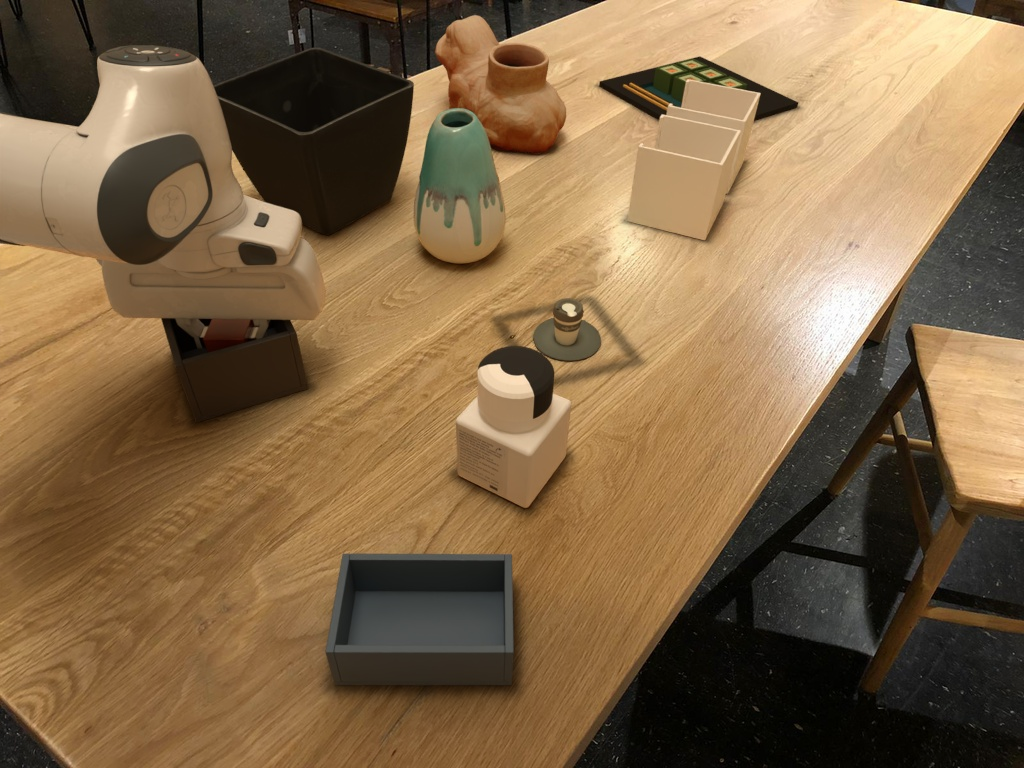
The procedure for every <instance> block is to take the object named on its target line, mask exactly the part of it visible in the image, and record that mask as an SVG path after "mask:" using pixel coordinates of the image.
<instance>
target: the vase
mask: <svg viewBox="0 0 1024 768" xmlns="http://www.w3.org/2000/svg"><path fill="white" fill-rule="evenodd" d="M418 180H419V181H418V184H417V187H416V190H415V196H414V201H413V202H414V205H413V226H414V231H415V234H416V237H417V238H418V240H419V242H420V244H421V245H422V247H423V248H424V249H425V250H426V252H428V253H429V254H430V255H431V256H433V257H435V258H436V259H438V260H440V261H443V262H446V263H449V264H450V263H451V264H461V265H462V264H469V263H475V262H478V261H480V260H483V259H484V258H486V257H487V256H489V255H490V254H491V253H493V251H494V250H495V249H496V248H497V247H498V245H499V244H500V242H501V241H502V238H503V235H504V233H505V228H506V221H507V218H506V217H507V216H506V206H505V201H504V196H503V192H502V185H501V183H500V178H499V175H498V171H497V168H496V165H495V160H494V155H493V152H492V148H491V146H490V142H489V139H488V136H487V133H486V131H485V129H484V127H483V125H482V123H481V122H480V120H479V119H478V118H477V116H476V115H475V114H474V113H473V112H471V111H469V110H467V109H462V108H453V109H449V108H448V109H446V110H444V111H441V112H439V114H438V115H437V116H436V117H435V118H434V120H433V122H432V123H431V125H430V127H429V130H428V133H427V136H426V142H425V147H424V154H423V158H422V164H421V168H420V173H419V177H418Z"/></svg>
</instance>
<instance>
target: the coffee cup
mask: <svg viewBox="0 0 1024 768" xmlns="http://www.w3.org/2000/svg"><path fill="white" fill-rule="evenodd" d="M584 313H585V311H584V306H583V304H582V303H581V302H580V301H579V300H577V299H574V298H572V297H571V298H570V297H566V298H561V299H558V300H557V301H555V303H554V305H553V309H552V315H553V317H551V318H549V319H546V320H544V321H542V322H541V323H540V324H538V325H537V326H536V328H535V329H534V331H533V334H532V338H533V339H532V340H533V343H534V345H535V346H536V348H537V349H538V351H539V352H540V353H541V354H543V355H544V356H545V357H547V358H551V359H554V360H558V361H564V362H574V361H581V360H585V359H587V358H590V357H591V356H593V355H594V354H596V353H597V352H598V350H599V349H600V347H601V343H602V337H601V334H600V332H599V331H598V329H597V328H596V327H595V326H594V325H593V324H591V323H589V322H588V321H586V320H584V319H583V316H584Z"/></svg>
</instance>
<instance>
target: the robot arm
mask: <svg viewBox="0 0 1024 768" xmlns="http://www.w3.org/2000/svg"><path fill="white" fill-rule="evenodd" d="M96 63H97V64H96V65H97V66H96V69H97V76H98V82H99V88H98V91H97V96H96V99H95V101H94V103H93V106H92V108H91V110H90V112H89V114H88V115H87V116H86V118H85V120H84V121H83V122H82V123H81V124H80V125H79V126H77V125H76V126H75V125H70V124H65V123H59V122H58V123H57V122H51V121H45V120H40V119H33V118H27V117H23V116H20V115H17V114H12V113H9V112H4V111H0V245H11V246H20V247H31V248H36V249H41V250H45V251H52V252H57V253H62V254H67V255H72V256H77V257H82V258H84V257H85V258H90V259H95V260H96V261H97V263H98V265H100V267H101V273H102V279H103V284H104V288H105V293H106V296H107V299H108V302H109V305H110V307H111V309H112V310H113V311H114V312H115V313H116V314H118V315H119V316H121V317H122V318H125V319H161V318H175V319H176V322H177V325H178V326H180V327H181V328H182V329H183V330H184V331H186V332H187V333H188V334H189V335H190V336H192V337H194V340H195V343H196V346H197V348H198V349H206V347H205V343H204V340H203V338H204V336H205V333H206V331H207V329H208V327H209V326H204V325H203V324H202V322H201V321H200V320H199V319H253V322H254V325H255V326H259V327H251V330H250V333H249V335H248V342H249V341H253V340H256V339H260V338H264V337H267V333H266V330H267V328H268V326H269V323H270V320H290V321H315V320H316V319H317V318H318V317H319V315H320V314H322V312H323V308H324V306H325V302H326V296H327V294H326V293H327V292H326V286H325V281H324V277H323V273H322V270H321V266H320V263H319V260H318V258H317V254H316V252H315V250H314V248H313V247H312V245H311V243H309V241H307V240H306V239H304V238H303V237H302V229H303V224H302V220H301V217H300V215H299V214H298V213H297V212H295V211H293V210H290V209H287V208H283V207H280V206H276V205H273V204H269V203H266V202H265V201H264V200H260V199H257V198H254V197H252V196H249V195H247V194H244V192H243V189H242V186H241V185H240V182H239V181H238V179H237V178H236V176H235V173H234V171H233V166H232V161H233V160H232V159H233V151H232V147H231V142H230V138H229V134H228V130H227V126H226V123H225V119H224V116H223V112H222V109H221V106H220V103H219V100H218V97H217V94H216V91H215V89H214V83H213V81H212V78H211V76H210V74H209V72H208V71H207V69H206V67H205V65H204V64H203V62H202V61H201V59H200V58H198V57H197V56H196V55H194V54H192V53H191V52H189V51H187V50H184V49H180V48H175V47H169V46H162V45H151V44H148V45H138V44H137V45H136V44H133V45H131V44H130V45H123V46H117V47H114V48H110V49H108V50H106V51H105V52H103V53H101V54H100V55H99V56H98V57H97V60H96Z"/></svg>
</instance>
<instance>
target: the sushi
mask: <svg viewBox="0 0 1024 768" xmlns="http://www.w3.org/2000/svg"><path fill="white" fill-rule="evenodd" d="M688 79H689V80H694V81H699V82H705V83H710V84H715V85H720V86H726V87H731V88H736V89H741V90H747V91H752V92H757V93H761V94H760V98H759V102H758V106H757V110H756V114H755V118H754V122H755V121H757V120H761V119H764V118H768V117H770V116H775V115H777V114H780V113H783V112H787V111H790V110H793V109H796V108H798V106H799V102H798V101H797V100H795V99H792V98H790V97H788V96H786V95H785V94H781V93H780V92H777V91H775V90H773V89H771V88H769V87H766V86H764V85H763V84H760V83H758V82H756V81H755V80H752V79H750V78H748V77H746V76H744V75H741V74H738V73H736V72H734V71H732V70H730V69H728V68H726V67H724V66H721V65H720V64H717V63H715V62H713V61H711V60H709V59H706V58H704V57H703V56H700V55H699V56H696V57H691V58H688V59H683V60H679V61H676V62H671V63H668V64H663V65H660V66H654V67H651V68H647V69H643V70H639V71H635V72H631V73H627V74H623V75H619V76H616V77H615V76H614V77H611V78H608V79H604V80H600V81H599V85H598V87H600V88H602V89H603V90H605V91H607V92H608V93H610V94H612V95H614V96H616V97H617V98H619V99H621V100H623V101H624V102H626V103H628V104H630V105H631V106H633V107H635V108H637V109H639V110H640V111H642V112H644V113H646V114H647V115H649V116H651V117H653V118H655V120H657V121H659V119H660V116H661V115H662V114H663V115H667V109H668V105H669V104H670V103H671V104H673V105H672V106H675V107H680V108H681V106H682V100H683V95H684V89H685V84H686V81H687V80H688Z"/></svg>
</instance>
